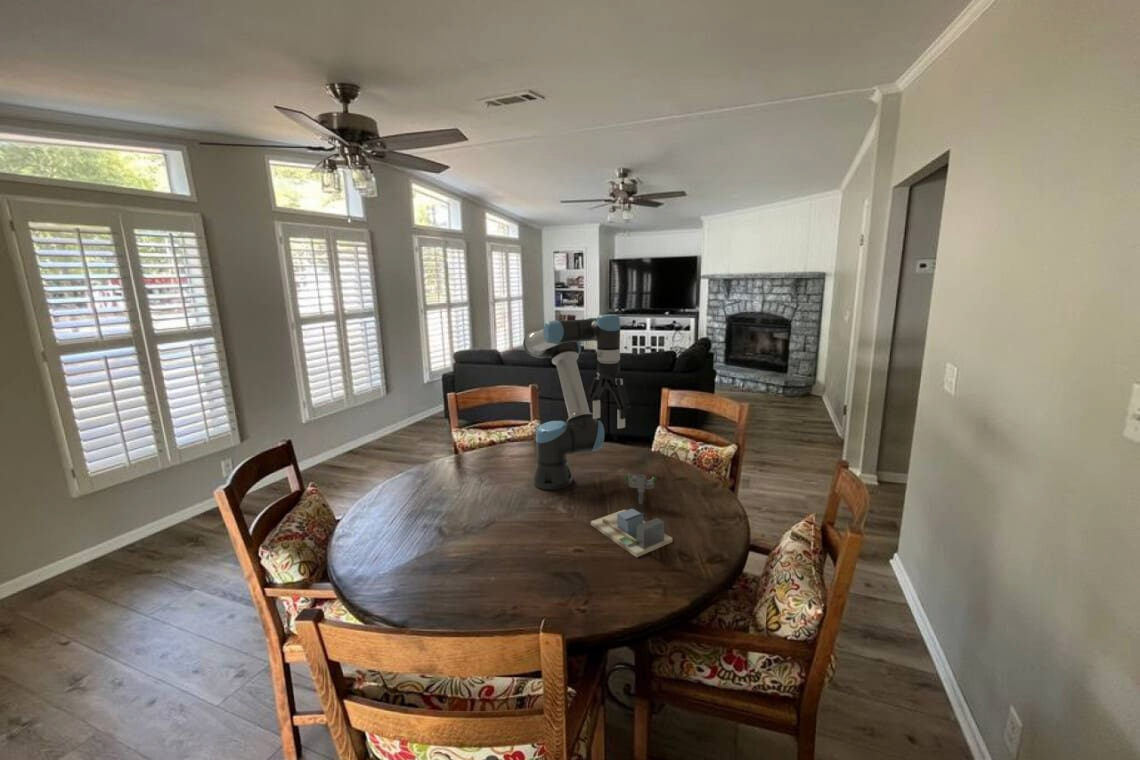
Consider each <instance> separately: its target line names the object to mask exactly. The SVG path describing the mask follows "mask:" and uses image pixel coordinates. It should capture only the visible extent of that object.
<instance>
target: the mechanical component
mask: <svg viewBox="0 0 1140 760" xmlns="http://www.w3.org/2000/svg"><path fill="white" fill-rule="evenodd" d="M625 480H626V481H628V486H629V487H630V488H637V490H636V491H637V492H638V504H639V505H643V504H644V493H645V492H646V490H645V489H647V490H652V489H654V487H655V486H654V485H655V483H657V477H654V476H651V478H650V479H647V478H646V475H645V474H635V473H629V474H628V475H626V476H625Z"/></svg>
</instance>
